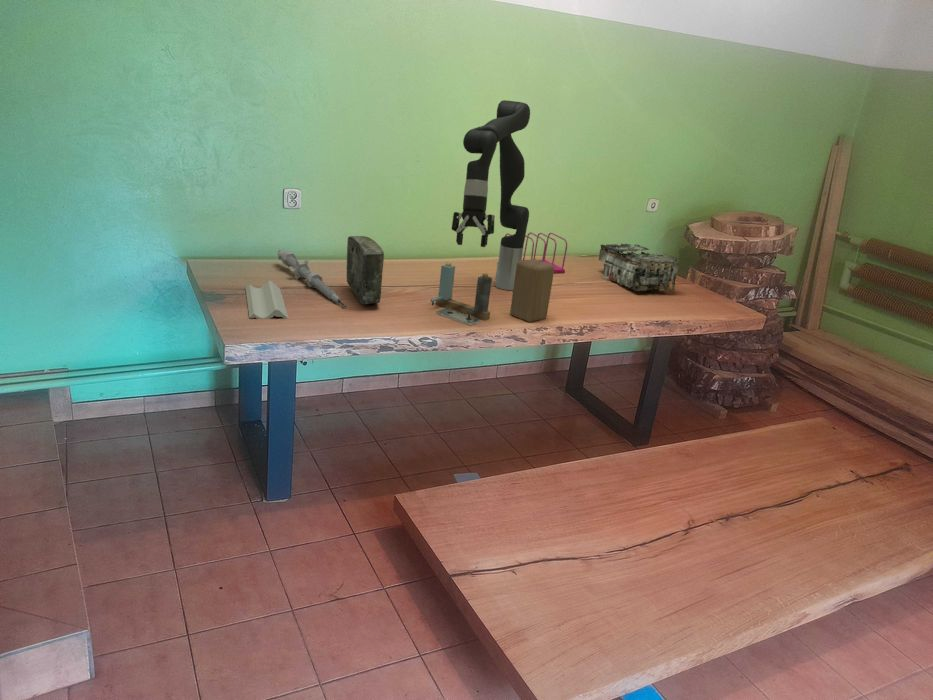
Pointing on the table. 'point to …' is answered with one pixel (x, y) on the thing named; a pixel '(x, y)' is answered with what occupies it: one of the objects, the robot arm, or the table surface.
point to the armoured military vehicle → (638, 267)
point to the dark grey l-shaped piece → (480, 300)
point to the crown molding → (265, 302)
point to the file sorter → (556, 268)
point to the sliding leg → (445, 282)
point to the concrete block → (365, 268)
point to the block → (532, 290)
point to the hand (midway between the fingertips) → (471, 245)
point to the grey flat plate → (458, 316)
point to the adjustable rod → (307, 275)
